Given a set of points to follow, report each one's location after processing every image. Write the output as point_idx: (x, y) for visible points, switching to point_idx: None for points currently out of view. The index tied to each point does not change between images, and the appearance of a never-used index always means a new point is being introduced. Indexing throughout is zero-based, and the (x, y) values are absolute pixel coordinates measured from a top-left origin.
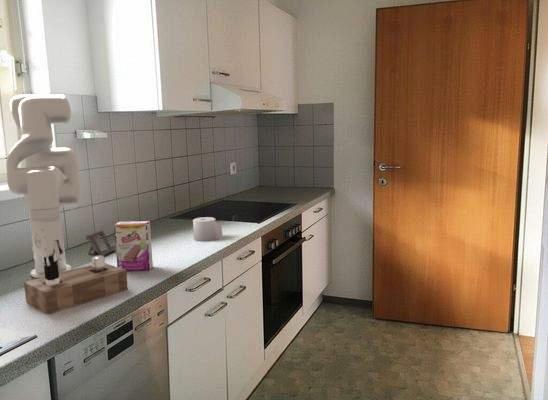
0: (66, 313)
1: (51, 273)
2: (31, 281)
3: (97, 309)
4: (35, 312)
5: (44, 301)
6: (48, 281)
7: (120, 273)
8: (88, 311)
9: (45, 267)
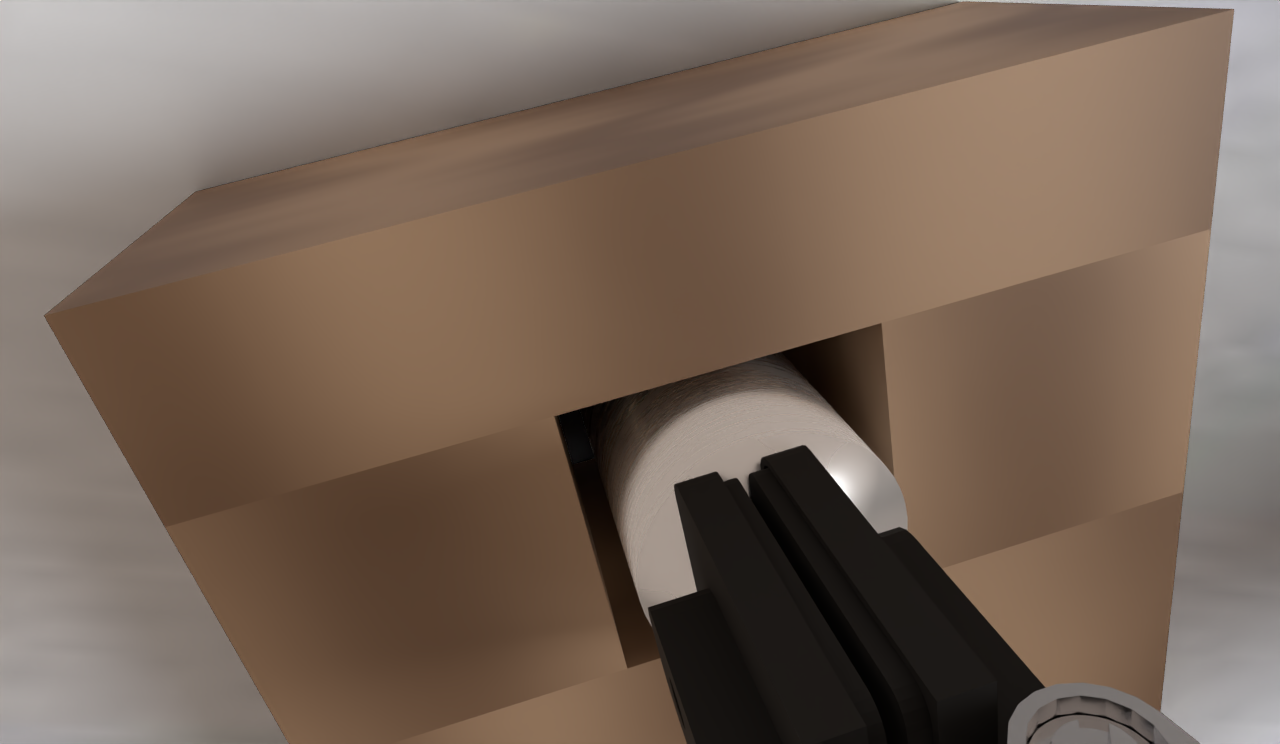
0: (89, 418)
1: (672, 665)
2: (1130, 161)
3: (46, 735)
4: (405, 37)
5: (235, 218)
6: (673, 469)
7: None
8: (21, 650)
9: (891, 679)
